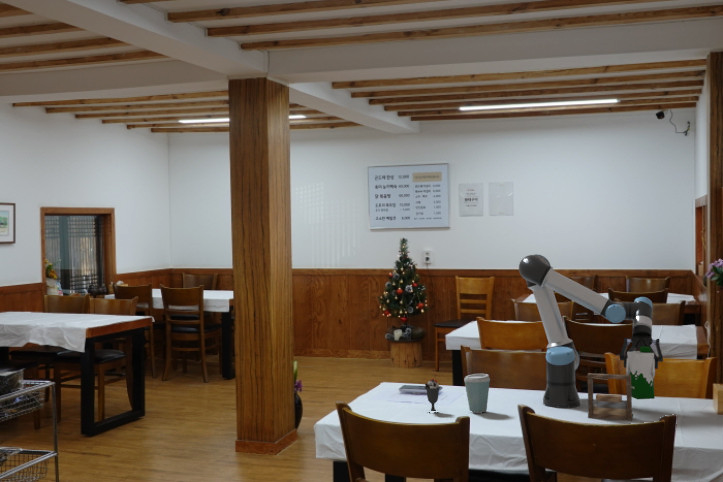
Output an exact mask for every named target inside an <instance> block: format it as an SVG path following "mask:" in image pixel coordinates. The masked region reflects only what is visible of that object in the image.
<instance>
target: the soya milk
mask: <svg viewBox="0 0 723 482" xmlns="http://www.w3.org/2000/svg"><path fill="white" fill-rule="evenodd" d="M651 348H652V346H651V347H647V346H642V347H640V349H639V350H636V351H633V352H628V351H626V353H627V355H628V362H629V375H631V393H632V399H636V400H650V399H653V400H654V399H655V380H654V379H655V377H653V374H652V366H653V360H654V353H655V352H654V353H652V352H651Z"/></svg>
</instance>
